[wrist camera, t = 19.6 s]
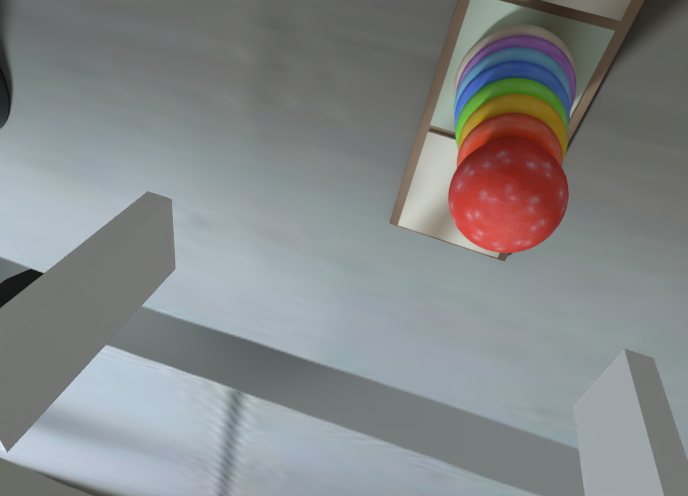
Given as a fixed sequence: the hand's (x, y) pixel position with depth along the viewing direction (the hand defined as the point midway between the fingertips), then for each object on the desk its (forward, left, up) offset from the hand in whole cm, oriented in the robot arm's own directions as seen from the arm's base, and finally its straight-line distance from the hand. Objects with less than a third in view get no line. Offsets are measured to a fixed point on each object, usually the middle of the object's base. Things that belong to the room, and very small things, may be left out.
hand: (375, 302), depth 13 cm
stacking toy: (+4, 0, -26) cm, 26 cm away
